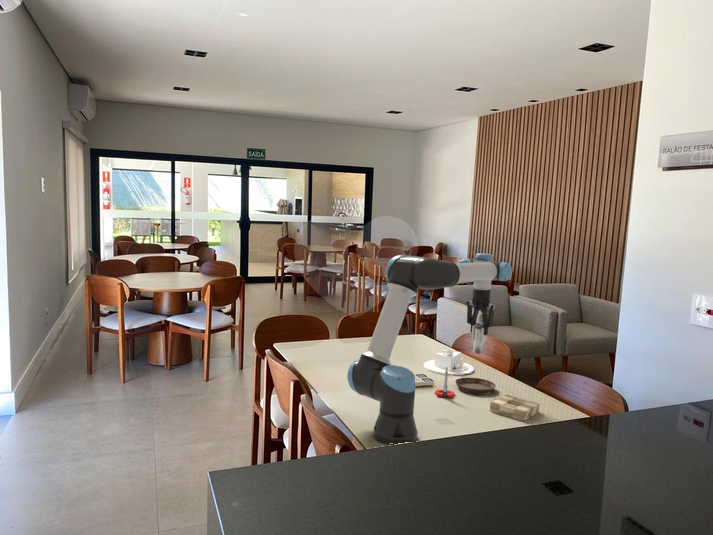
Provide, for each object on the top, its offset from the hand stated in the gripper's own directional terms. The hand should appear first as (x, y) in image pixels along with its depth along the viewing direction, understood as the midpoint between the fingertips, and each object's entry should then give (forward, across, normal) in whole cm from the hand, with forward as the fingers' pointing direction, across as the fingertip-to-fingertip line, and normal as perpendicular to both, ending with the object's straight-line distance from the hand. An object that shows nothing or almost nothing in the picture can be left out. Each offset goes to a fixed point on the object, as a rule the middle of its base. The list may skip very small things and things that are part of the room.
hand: (478, 340), depth 237 cm
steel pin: (+5, 0, 0) cm, 5 cm away
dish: (+23, +26, -19) cm, 39 cm away
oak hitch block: (+22, -25, +13) cm, 36 cm away
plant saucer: (+22, 0, 0) cm, 22 cm away
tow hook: (+22, +5, +17) cm, 29 cm away
